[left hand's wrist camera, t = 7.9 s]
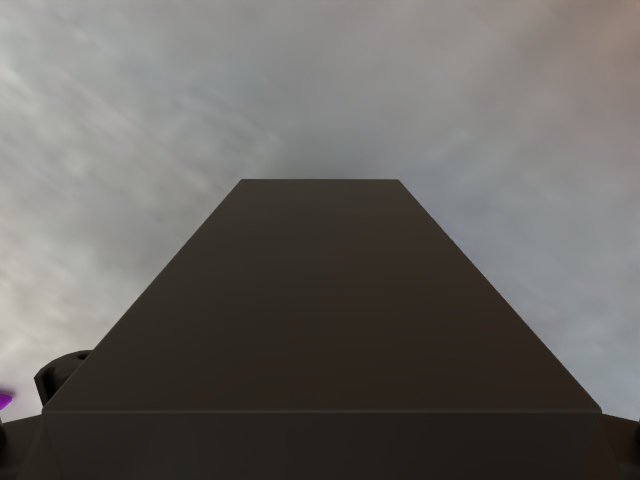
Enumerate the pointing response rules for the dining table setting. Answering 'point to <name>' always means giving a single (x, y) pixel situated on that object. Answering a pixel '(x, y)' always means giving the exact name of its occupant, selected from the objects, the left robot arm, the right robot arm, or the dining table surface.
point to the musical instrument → (4, 401)
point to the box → (321, 356)
